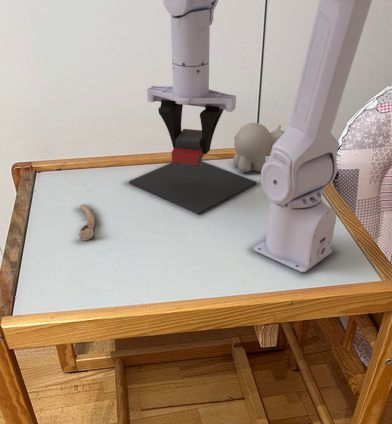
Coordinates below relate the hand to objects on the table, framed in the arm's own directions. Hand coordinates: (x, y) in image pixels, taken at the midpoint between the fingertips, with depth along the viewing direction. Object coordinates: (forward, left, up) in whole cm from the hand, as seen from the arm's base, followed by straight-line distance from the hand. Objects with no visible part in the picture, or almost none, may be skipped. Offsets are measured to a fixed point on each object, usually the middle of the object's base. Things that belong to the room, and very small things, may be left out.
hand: (191, 149), depth 89 cm
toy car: (+2, +1, +1) cm, 2 cm away
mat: (+3, -4, -9) cm, 10 cm away
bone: (+6, +19, -9) cm, 22 cm away
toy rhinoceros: (-2, -19, -9) cm, 21 cm away
